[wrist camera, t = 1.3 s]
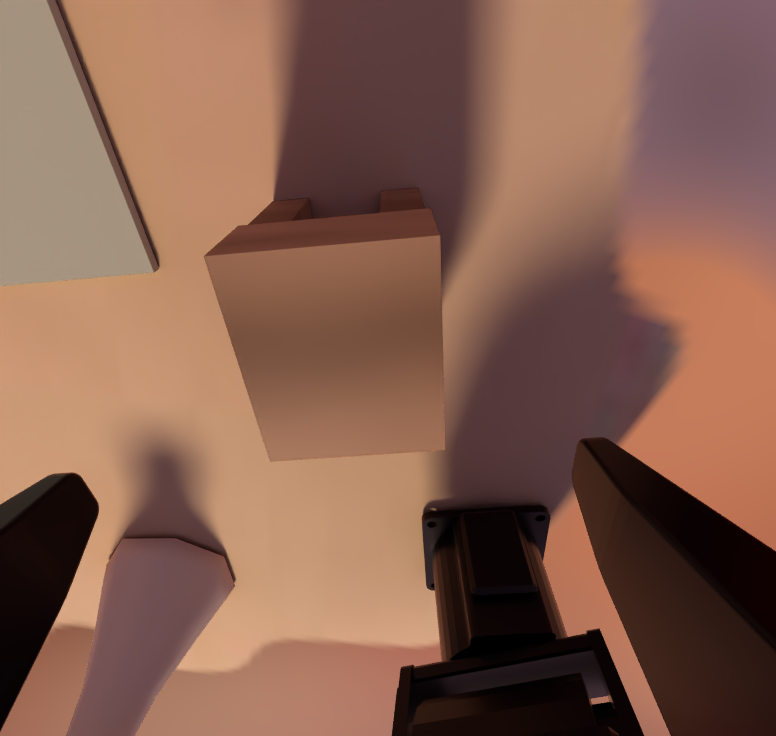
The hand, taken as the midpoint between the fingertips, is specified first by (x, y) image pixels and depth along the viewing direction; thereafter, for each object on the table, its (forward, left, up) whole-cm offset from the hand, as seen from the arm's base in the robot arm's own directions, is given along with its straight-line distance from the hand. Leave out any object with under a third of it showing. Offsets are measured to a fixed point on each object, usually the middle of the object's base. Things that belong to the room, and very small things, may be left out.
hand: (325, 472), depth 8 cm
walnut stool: (0, 0, -9) cm, 9 cm away
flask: (-17, +13, -10) cm, 23 cm away
